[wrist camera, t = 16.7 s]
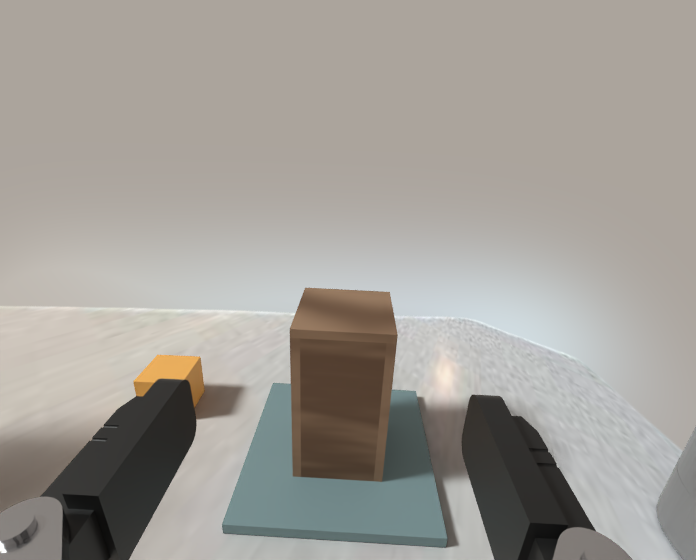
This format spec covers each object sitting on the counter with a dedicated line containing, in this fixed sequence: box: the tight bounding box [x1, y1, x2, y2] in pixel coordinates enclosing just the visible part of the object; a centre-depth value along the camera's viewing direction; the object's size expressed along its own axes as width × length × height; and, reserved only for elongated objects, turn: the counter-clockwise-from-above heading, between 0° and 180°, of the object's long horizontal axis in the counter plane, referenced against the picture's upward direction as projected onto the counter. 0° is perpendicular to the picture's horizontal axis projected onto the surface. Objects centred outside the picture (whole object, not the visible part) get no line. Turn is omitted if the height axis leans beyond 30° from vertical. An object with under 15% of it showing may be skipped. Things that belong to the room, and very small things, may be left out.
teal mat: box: [222, 383, 447, 547], centre depth 29 cm, size 14×14×1 cm
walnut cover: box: [290, 288, 397, 482], centre depth 27 cm, size 6×6×12 cm
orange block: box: [133, 355, 205, 408], centre depth 33 cm, size 4×4×4 cm
